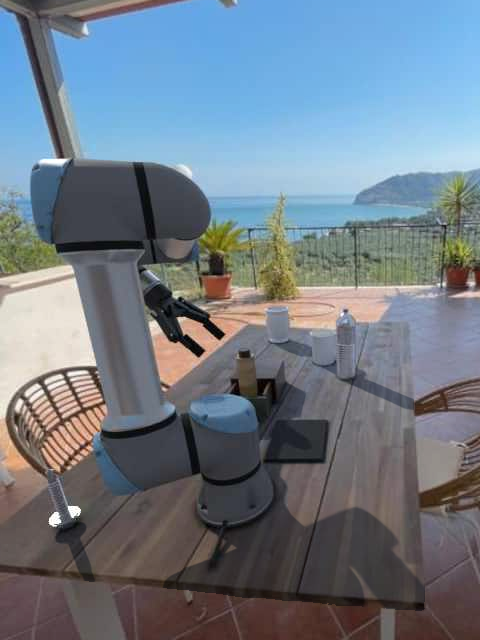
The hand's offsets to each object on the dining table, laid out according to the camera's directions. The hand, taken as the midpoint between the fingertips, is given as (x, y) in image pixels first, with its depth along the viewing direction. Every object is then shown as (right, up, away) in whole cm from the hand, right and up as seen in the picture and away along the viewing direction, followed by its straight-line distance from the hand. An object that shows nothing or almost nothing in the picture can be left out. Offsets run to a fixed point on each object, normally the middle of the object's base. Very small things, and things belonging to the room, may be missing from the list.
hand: (213, 345), depth 109 cm
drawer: (+9, -19, +6) cm, 22 cm away
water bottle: (+36, -11, +31) cm, 49 cm away
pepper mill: (+9, -18, +6) cm, 21 cm away
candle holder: (+27, -6, +44) cm, 52 cm away
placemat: (+25, -25, -7) cm, 36 cm away
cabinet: (+9, -15, +19) cm, 26 cm away
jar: (+5, +3, +67) cm, 67 cm away
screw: (-16, -35, -34) cm, 51 cm away
